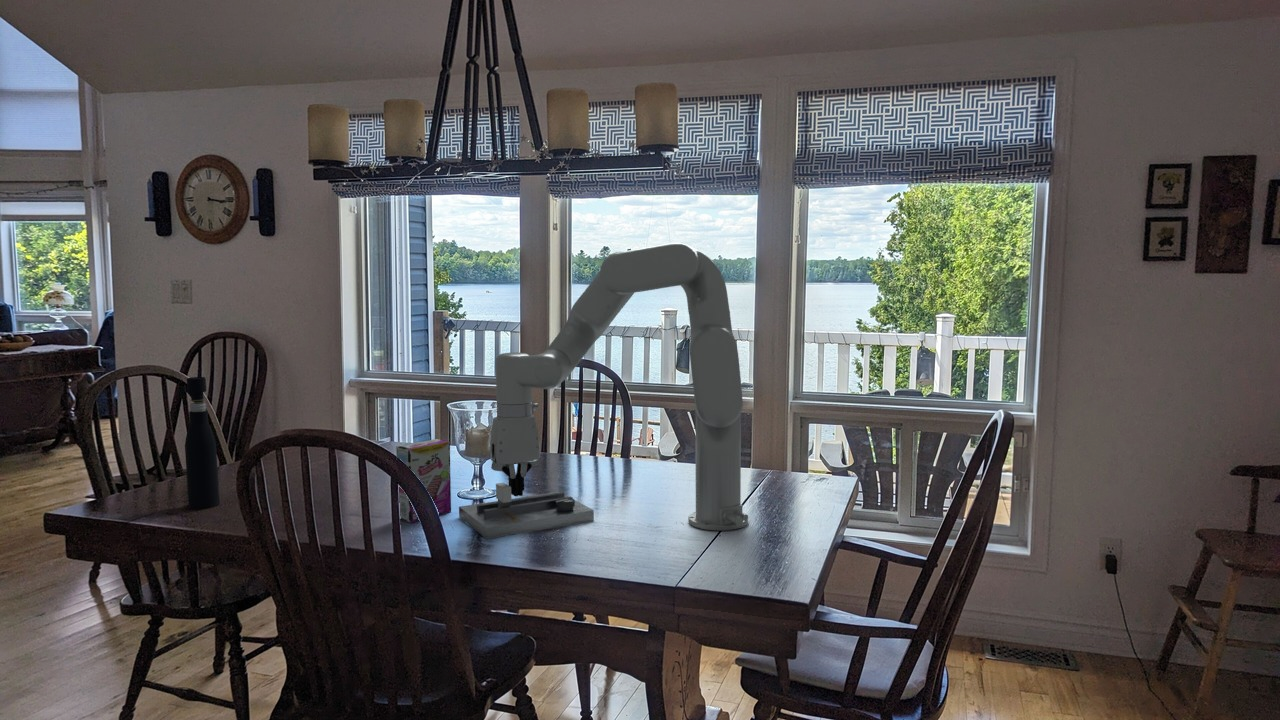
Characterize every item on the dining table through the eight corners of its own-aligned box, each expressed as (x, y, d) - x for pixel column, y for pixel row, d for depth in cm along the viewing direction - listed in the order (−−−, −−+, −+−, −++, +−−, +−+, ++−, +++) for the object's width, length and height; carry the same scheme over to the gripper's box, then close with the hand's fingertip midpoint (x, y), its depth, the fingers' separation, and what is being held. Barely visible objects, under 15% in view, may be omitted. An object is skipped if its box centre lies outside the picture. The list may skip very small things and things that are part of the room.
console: (593, 520, 183) (593, 500, 183) (487, 539, 171) (486, 517, 171) (559, 501, 199) (558, 482, 198) (459, 517, 187) (458, 497, 187)
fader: (512, 512, 181) (511, 486, 180) (503, 514, 180) (502, 488, 179) (504, 507, 185) (504, 482, 184) (496, 509, 184) (495, 483, 183)
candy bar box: (411, 524, 182) (408, 448, 181) (397, 519, 186) (394, 445, 184) (453, 512, 191) (450, 440, 189) (439, 508, 194) (436, 437, 193)
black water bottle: (206, 509, 195) (198, 379, 192) (182, 508, 196) (173, 379, 193) (225, 502, 201) (217, 376, 198) (202, 501, 203) (193, 376, 199)
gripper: (540, 405, 189) (541, 486, 191) (475, 411, 181) (477, 495, 183) (553, 410, 182) (555, 494, 184) (487, 416, 175) (489, 503, 177)
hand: (516, 494), depth 184 cm, fingers closed
